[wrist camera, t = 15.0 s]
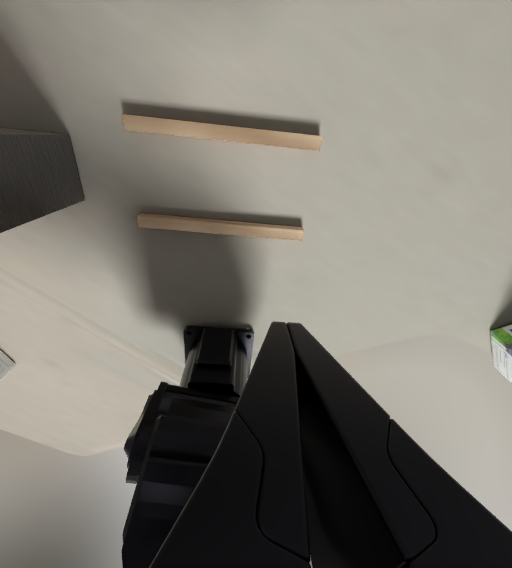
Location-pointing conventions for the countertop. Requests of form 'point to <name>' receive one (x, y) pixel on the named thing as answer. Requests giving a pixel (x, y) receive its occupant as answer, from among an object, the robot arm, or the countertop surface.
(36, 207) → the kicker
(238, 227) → the track
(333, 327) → the countertop surface
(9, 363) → the skincare box
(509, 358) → the syrup box
